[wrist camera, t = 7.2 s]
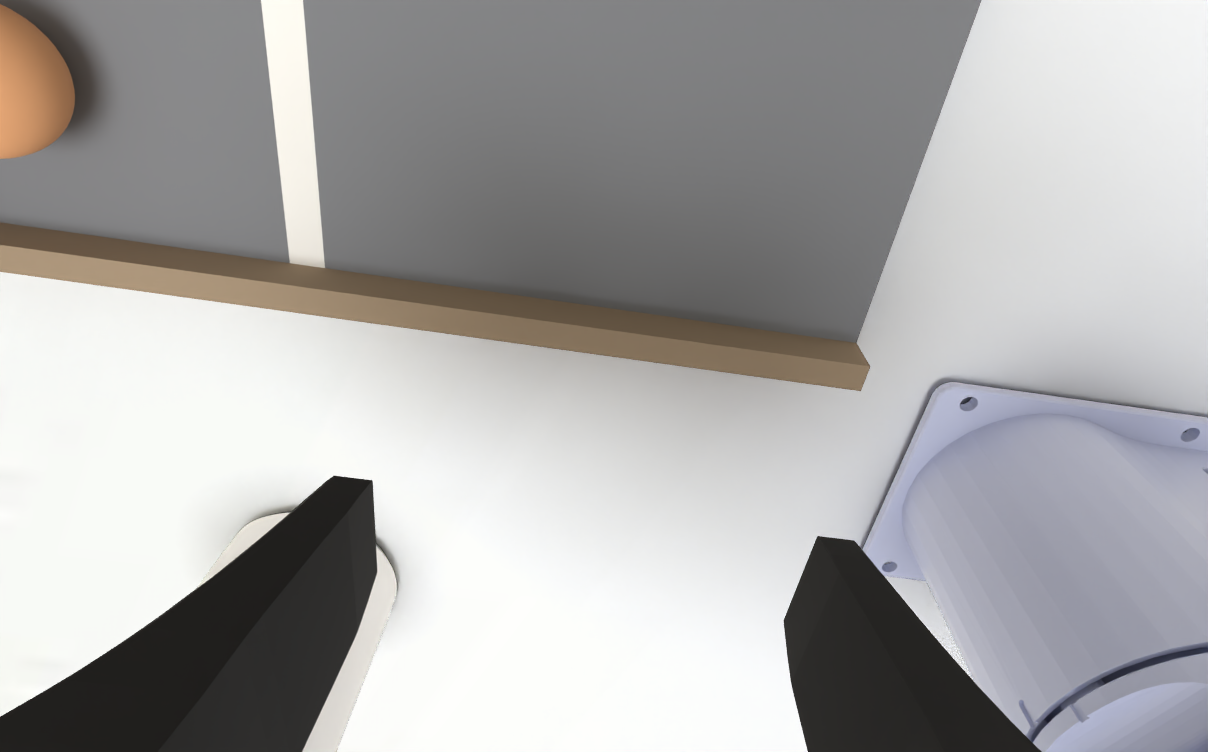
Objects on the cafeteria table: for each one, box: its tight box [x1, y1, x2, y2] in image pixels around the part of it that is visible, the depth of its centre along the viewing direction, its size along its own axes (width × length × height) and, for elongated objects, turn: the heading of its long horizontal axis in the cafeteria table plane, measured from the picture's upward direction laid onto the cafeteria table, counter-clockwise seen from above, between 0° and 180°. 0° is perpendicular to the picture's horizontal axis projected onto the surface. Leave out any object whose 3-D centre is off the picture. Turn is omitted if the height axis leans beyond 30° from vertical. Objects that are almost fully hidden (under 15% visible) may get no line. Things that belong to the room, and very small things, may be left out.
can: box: [196, 512, 397, 752], centre depth 21 cm, size 6×6×12 cm
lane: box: [0, 0, 981, 391], centre depth 16 cm, size 27×12×2 cm, turn 82°
